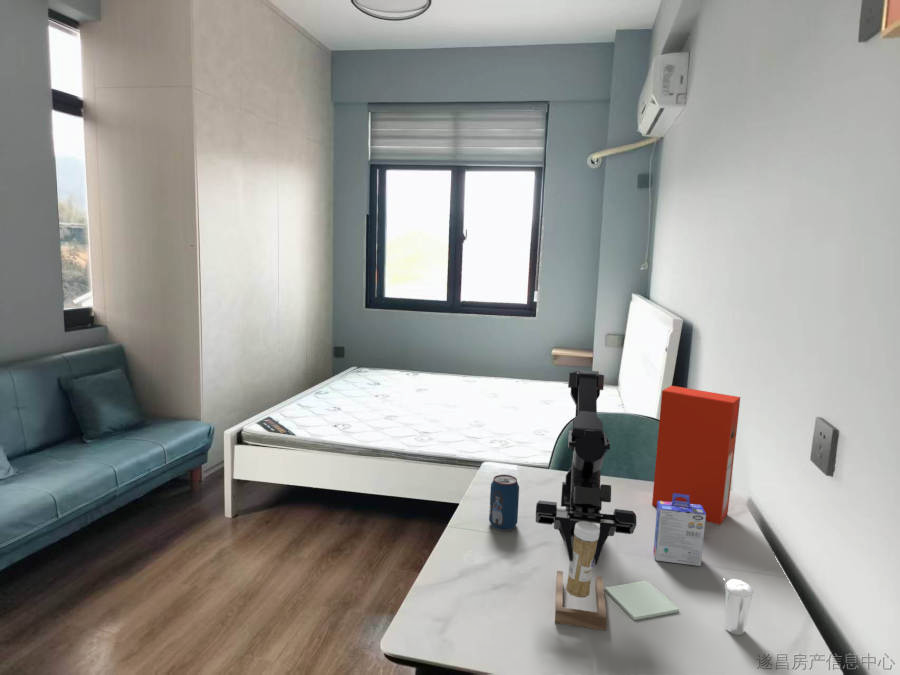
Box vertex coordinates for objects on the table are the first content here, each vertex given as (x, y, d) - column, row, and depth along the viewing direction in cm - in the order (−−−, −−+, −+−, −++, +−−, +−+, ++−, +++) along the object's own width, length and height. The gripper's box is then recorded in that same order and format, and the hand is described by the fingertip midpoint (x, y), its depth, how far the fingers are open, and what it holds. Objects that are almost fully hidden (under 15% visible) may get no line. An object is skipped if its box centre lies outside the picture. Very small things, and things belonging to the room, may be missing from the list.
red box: (719, 525, 149) (733, 402, 144) (651, 505, 160) (662, 390, 155) (727, 515, 156) (740, 396, 151) (661, 496, 166) (671, 385, 161)
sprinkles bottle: (588, 601, 110) (599, 534, 107) (563, 594, 111) (574, 528, 109) (590, 588, 114) (600, 523, 112) (566, 581, 115) (576, 517, 113)
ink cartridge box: (697, 554, 134) (703, 494, 132) (702, 567, 129) (709, 504, 127) (651, 549, 136) (657, 489, 134) (655, 561, 131) (660, 499, 129)
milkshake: (711, 621, 110) (717, 572, 108) (738, 621, 110) (744, 571, 109) (724, 637, 105) (730, 586, 104) (753, 637, 106) (759, 585, 104)
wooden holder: (556, 581, 121) (557, 570, 121) (601, 588, 120) (602, 576, 119) (554, 622, 108) (555, 610, 108) (605, 630, 106) (606, 617, 106)
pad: (604, 590, 119) (604, 587, 119) (646, 583, 122) (646, 580, 122) (634, 620, 110) (634, 617, 109) (678, 611, 113) (679, 608, 113)
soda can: (515, 519, 149) (518, 474, 147) (518, 532, 142) (520, 485, 140) (488, 518, 149) (490, 473, 147) (489, 531, 142) (491, 484, 140)
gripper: (539, 461, 114) (532, 542, 105) (639, 471, 111) (641, 556, 102) (538, 483, 123) (532, 560, 114) (631, 493, 120) (633, 573, 111)
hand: (583, 562), depth 110 cm, fingers closed on sprinkles bottle, 4 cm apart
